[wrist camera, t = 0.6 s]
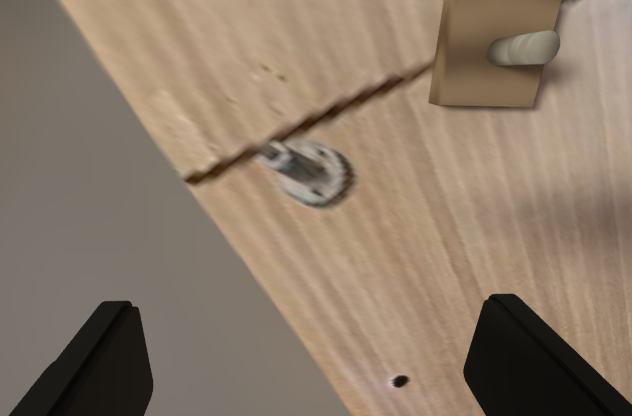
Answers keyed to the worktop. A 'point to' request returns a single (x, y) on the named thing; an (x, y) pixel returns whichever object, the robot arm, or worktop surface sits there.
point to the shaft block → (493, 51)
